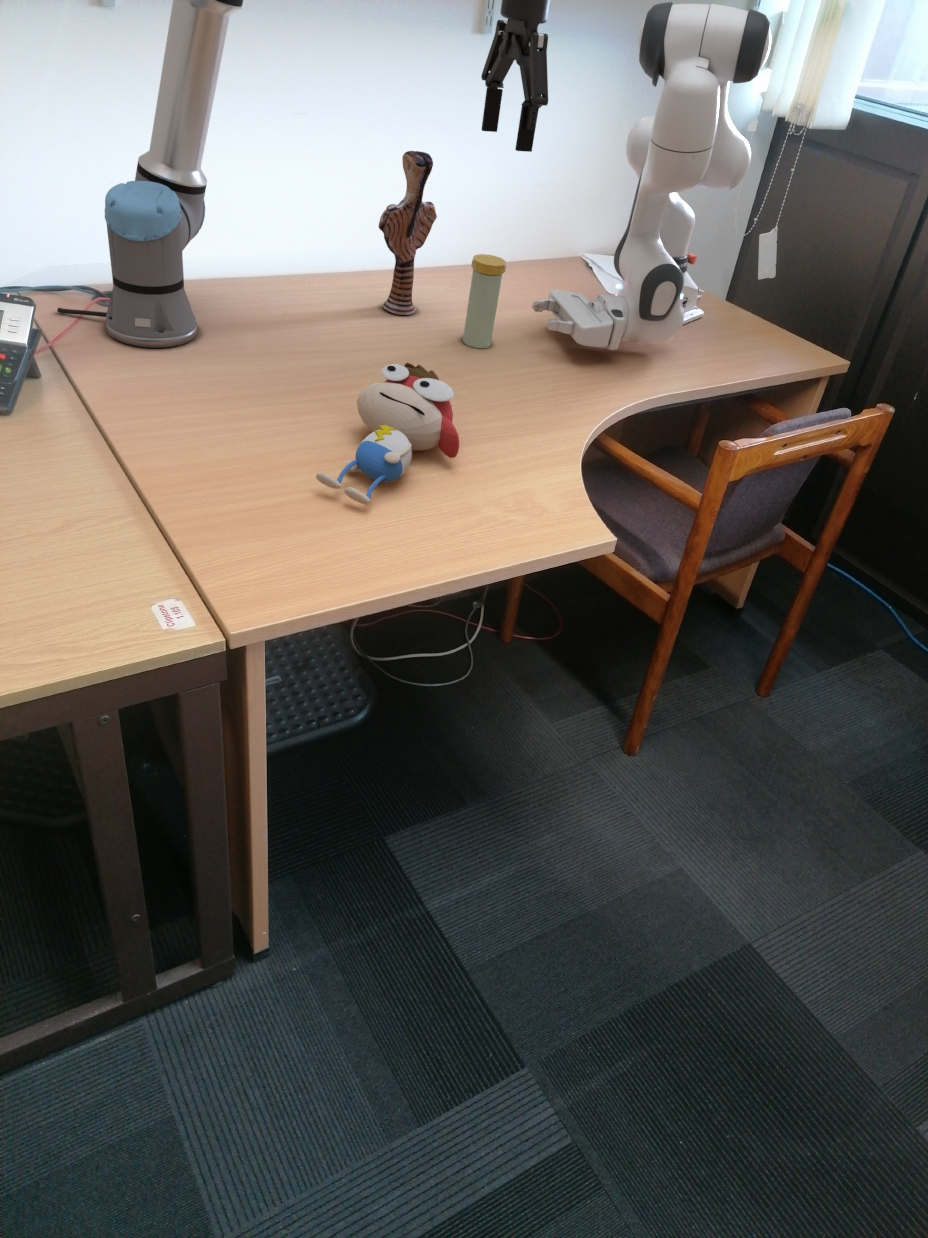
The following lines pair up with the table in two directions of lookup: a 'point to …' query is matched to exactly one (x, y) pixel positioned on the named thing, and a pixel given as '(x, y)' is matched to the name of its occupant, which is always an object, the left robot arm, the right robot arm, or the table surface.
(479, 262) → the lid
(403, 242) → the figurine
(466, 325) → the jar
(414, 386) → the toy
